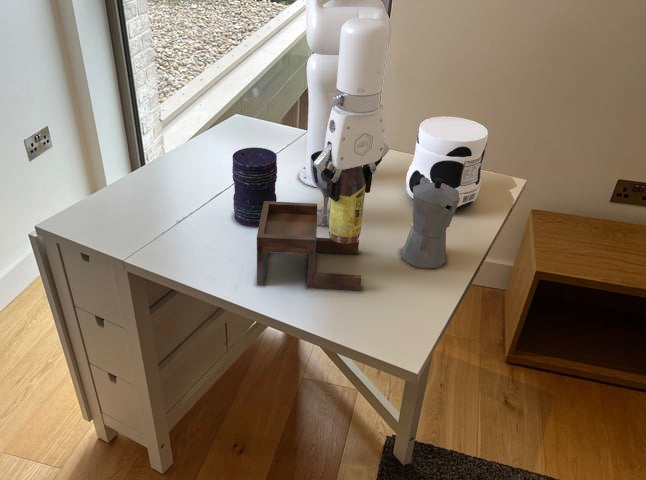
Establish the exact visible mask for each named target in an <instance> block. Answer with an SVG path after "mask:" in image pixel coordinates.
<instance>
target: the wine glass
mask: <svg viewBox="0 0 646 480" xmlns="http://www.w3.org/2000/svg"><path fill="white" fill-rule="evenodd" d="M322 152H323V151H318V152H315V153H313V154H312V155H311V176H312V180H313V183H314V184H315V186H316V187H315V188H317V189H318V190H319V192H320V193H321V195H322V198H323V210H317V226H319V227H329V218H330V210H328V205H329V200H330V197H329V196H328V195H327V193H326V187H327V177H326V176H325V175H324V174H322V173H321V172H320V171H319V170H318V169H317V168H316V167H315V166H314V165H313V163H314V161H315V160H316V159H317V158H318V156H319V155H320V154H321V153H322ZM329 162H330V161H327V162H326V163H325V166H326V167H327V166H328V164H329ZM335 168H336V167H335ZM335 168H334V170H333V172H332V173H334V171H335Z"/></svg>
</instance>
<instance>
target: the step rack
mask: <svg viewBox="0 0 646 480" xmlns="http://www.w3.org/2000/svg"><path fill="white" fill-rule="evenodd" d="M317 211H318V203H315V202H314V203H313V202H294V201H293V202H291V201H276V202H274V201H264V203H263V208H262V213H261V218H260V223H259V227H257V234H256V285H257V286H264V283H265V276H266V271H267V264H268V258H269V253H277V254H279V253H280V254H297V255H298V254H299V255H308V266H307V284H306V288H307V289H321V290H337V291H338V290H339V291H352V292H353V291H355V292H361V286H362V274H353V273H334V272H317V271H316V269H315V268H316V253H322V254H323V253H325V254H344V255H358V254H359V248H360V247H359V246H360V239H358V240H357V241H355V242H353V243H350V244H340V243H336V242H334V241H333V240H332V239H331V238H330V237H317V234H318V233H317V232H318V231H317V230H318V225H317Z"/></svg>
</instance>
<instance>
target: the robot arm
mask: <svg viewBox="0 0 646 480" xmlns="http://www.w3.org/2000/svg"><path fill="white" fill-rule="evenodd" d="M392 24H393V23H392V19H391V18H390V16H389V14H388V13H387V10H386V6H385V4H384V2H383V1H382V0H305V35H306V42H307V46H308V48H309V49H310V50H311V52H313V53H312V54H311V55H310V56H309V57H308V59H307V62H306V82H307V94H308V96H307V97H308V107H307V108H308V110H307V111H308V112H307V132H306V133H307V134H306V153H305V154H306V156H305V166H303V167H302V168H301V169H300V170H299V175H298V176H299V180H301V182H303V183H304V184H305V185H308V186H309V187H314V188H317V187H316V186H315V184H314V183H313V180H312V176H311V155H312V154H313V153H315V152H318V151H323V152H322V153H321V154H320V155H319V156H318V158H317V159H316V160H315V161H314V163H313V165H314V166H315V167H316V168H317V169H318V170H319V171H320V172H321V173H322V174H324V175H325V176H326V177H327V187H326V193H327V195H328V196H329V199H330V200H331V199H332V200H334V201H335V202H336V201H338V200H339V194H340V181H338V179H339V177H340V174H341V172H342V170H346V169H350V168H354V167H358V166H362V169H363V173H364V177H365V180H366V188H365V194H368V193H371V189H372V188H371V187H372V182H373V174H374V173H376V171H377V167H378V166H379V165H380V163H381V162H382V161H383V158H384V157H385V156H386V155H387V154H388V152H390V147H389V146H388V145H387V144H386V143H385V135H386V132H385V131H386V118H385V108H384V105H383V104H382V103H381V102H382V101H381V100H382V92H383V84H384V77H385V68H386V60H387V53H388V45H389V43H390V41H391V36H392V27H393V26H392ZM327 161H330V162H329V164H328V166H327V167H326V166H325V163H326V162H327ZM335 167H336V168H335ZM334 168H335V171H334V173H332V172H333V170H334Z"/></svg>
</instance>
